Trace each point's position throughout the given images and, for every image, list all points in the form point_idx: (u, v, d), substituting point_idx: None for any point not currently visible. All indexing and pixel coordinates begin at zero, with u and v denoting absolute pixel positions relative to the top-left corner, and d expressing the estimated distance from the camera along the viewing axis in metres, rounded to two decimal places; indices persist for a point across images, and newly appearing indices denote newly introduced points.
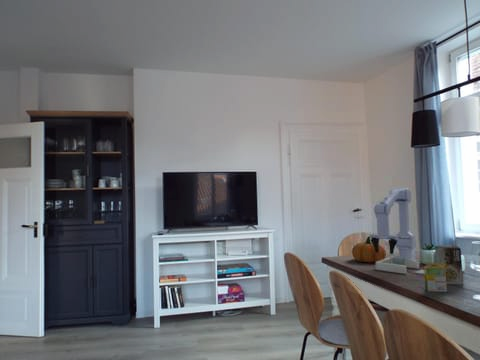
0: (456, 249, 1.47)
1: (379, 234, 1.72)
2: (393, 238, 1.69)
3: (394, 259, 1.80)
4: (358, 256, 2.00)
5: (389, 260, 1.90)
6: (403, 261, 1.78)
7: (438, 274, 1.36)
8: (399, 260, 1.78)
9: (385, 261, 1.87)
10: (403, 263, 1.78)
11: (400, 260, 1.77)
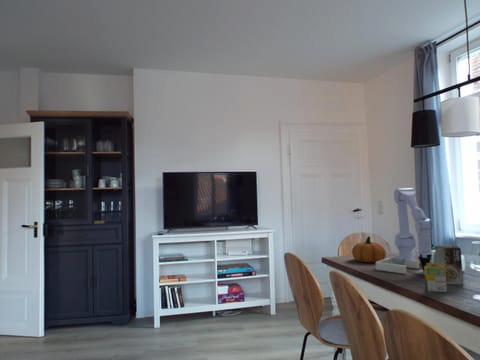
0: (456, 249, 1.47)
1: None
2: None
3: (394, 259, 1.80)
4: (358, 256, 2.00)
5: (389, 260, 1.90)
6: (403, 261, 1.78)
7: (438, 274, 1.36)
8: (399, 260, 1.78)
9: (385, 261, 1.87)
10: (403, 263, 1.78)
11: (400, 260, 1.77)
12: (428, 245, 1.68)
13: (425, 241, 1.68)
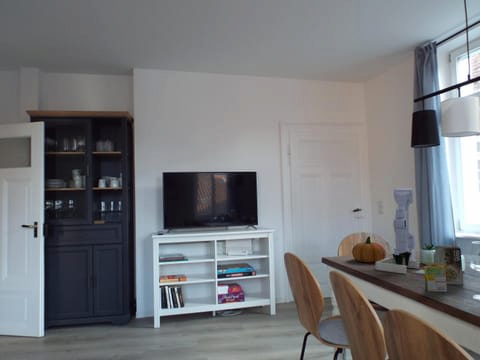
0: (456, 249, 1.47)
1: None
2: None
3: (394, 259, 1.80)
4: (358, 256, 2.00)
5: (389, 260, 1.90)
6: (403, 261, 1.78)
7: (438, 274, 1.36)
8: None
9: (385, 261, 1.87)
10: (403, 263, 1.78)
11: None
12: (403, 243, 1.76)
13: (398, 239, 1.77)
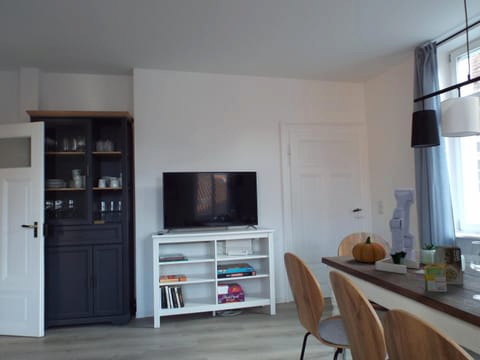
0: (456, 249, 1.47)
1: None
2: None
3: None
4: (358, 256, 2.00)
5: (389, 260, 1.90)
6: (403, 261, 1.78)
7: (438, 274, 1.36)
8: None
9: (385, 261, 1.87)
10: (403, 263, 1.78)
11: (400, 260, 1.77)
12: (399, 243, 1.78)
13: (394, 239, 1.79)
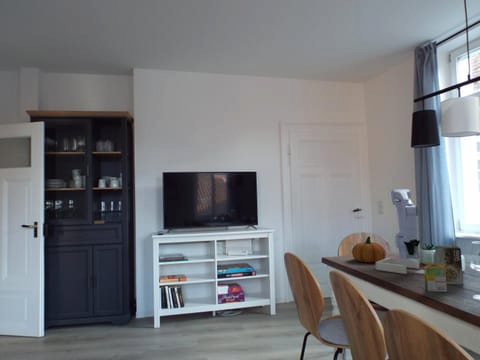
0: (456, 249, 1.47)
1: None
2: None
3: None
4: (358, 256, 2.00)
5: (389, 260, 1.90)
6: (416, 249, 1.73)
7: (438, 274, 1.36)
8: None
9: (385, 261, 1.87)
10: (417, 251, 1.73)
11: (414, 248, 1.72)
12: (413, 230, 1.73)
13: (410, 226, 1.73)
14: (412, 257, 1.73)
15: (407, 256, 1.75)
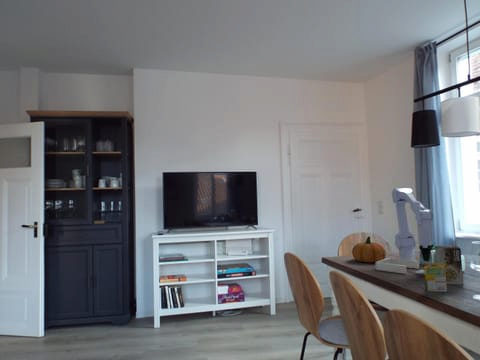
0: (456, 249, 1.47)
1: None
2: None
3: None
4: (358, 256, 2.00)
5: (389, 260, 1.90)
6: None
7: (438, 274, 1.36)
8: None
9: (385, 261, 1.87)
10: (431, 257, 1.69)
11: None
12: (429, 235, 1.68)
13: (426, 231, 1.68)
14: None
15: (421, 262, 1.69)
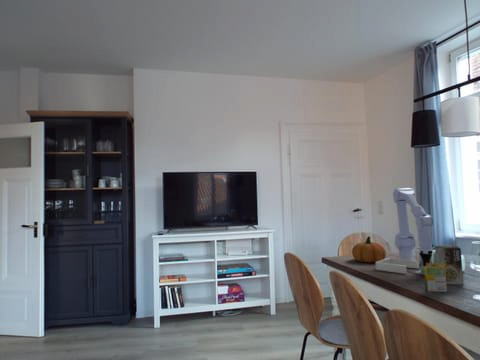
0: (456, 249, 1.47)
1: None
2: None
3: None
4: (358, 256, 2.00)
5: (389, 260, 1.90)
6: None
7: (438, 274, 1.36)
8: None
9: (385, 261, 1.87)
10: None
11: (430, 262, 1.67)
12: (429, 241, 1.68)
13: (426, 237, 1.68)
14: None
15: (422, 270, 1.69)
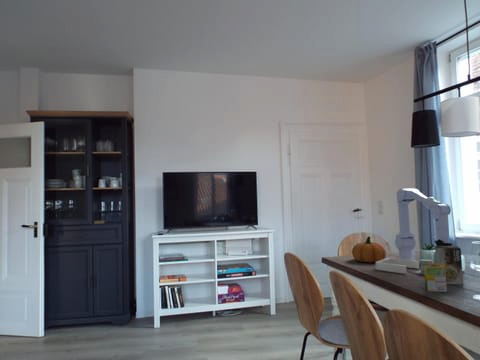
0: (456, 249, 1.47)
1: None
2: None
3: (423, 261, 1.69)
4: (358, 256, 2.00)
5: (389, 260, 1.90)
6: None
7: (438, 274, 1.36)
8: (429, 262, 1.67)
9: (385, 261, 1.87)
10: None
11: (430, 262, 1.67)
12: (447, 230, 1.62)
13: (444, 226, 1.62)
14: None
15: (422, 270, 1.69)
